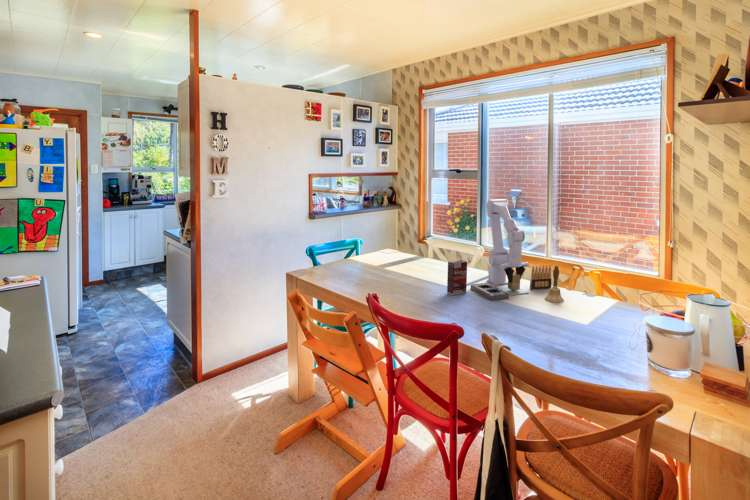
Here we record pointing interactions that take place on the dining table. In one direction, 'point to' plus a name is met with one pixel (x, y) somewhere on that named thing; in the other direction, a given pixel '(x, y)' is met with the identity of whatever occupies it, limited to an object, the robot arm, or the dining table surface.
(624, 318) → the dining table surface
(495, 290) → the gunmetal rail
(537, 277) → the ammunition clip
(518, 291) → the blue-grey board
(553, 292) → the hand bell
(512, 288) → the walnut peg
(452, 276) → the supplement box
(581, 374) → the dining table surface
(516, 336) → the dining table surface
